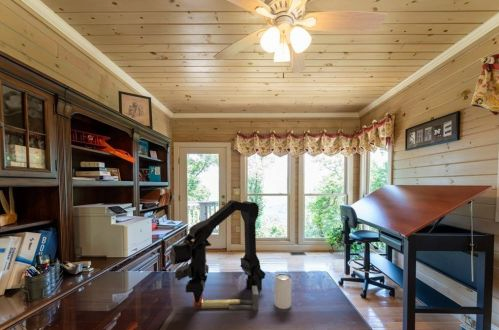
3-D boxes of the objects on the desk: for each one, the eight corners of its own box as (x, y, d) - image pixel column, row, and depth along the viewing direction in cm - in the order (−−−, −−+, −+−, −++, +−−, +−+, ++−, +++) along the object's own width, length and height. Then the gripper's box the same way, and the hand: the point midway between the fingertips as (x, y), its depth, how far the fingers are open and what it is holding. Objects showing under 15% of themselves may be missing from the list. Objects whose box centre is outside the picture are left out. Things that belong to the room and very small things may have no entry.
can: (280, 313, 93) (280, 281, 93) (271, 305, 99) (271, 274, 99) (294, 309, 96) (294, 278, 96) (284, 301, 102) (284, 271, 102)
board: (263, 300, 102) (263, 283, 102) (267, 316, 91) (267, 296, 91) (197, 302, 101) (197, 284, 101) (192, 318, 90) (192, 298, 90)
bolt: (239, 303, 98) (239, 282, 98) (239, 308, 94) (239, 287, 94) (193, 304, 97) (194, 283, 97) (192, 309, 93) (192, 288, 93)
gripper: (182, 251, 104) (181, 288, 104) (170, 268, 86) (170, 314, 85) (208, 250, 105) (208, 287, 105) (203, 268, 86) (203, 313, 86)
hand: (198, 299), depth 95 cm, fingers closed on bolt, 3 cm apart
